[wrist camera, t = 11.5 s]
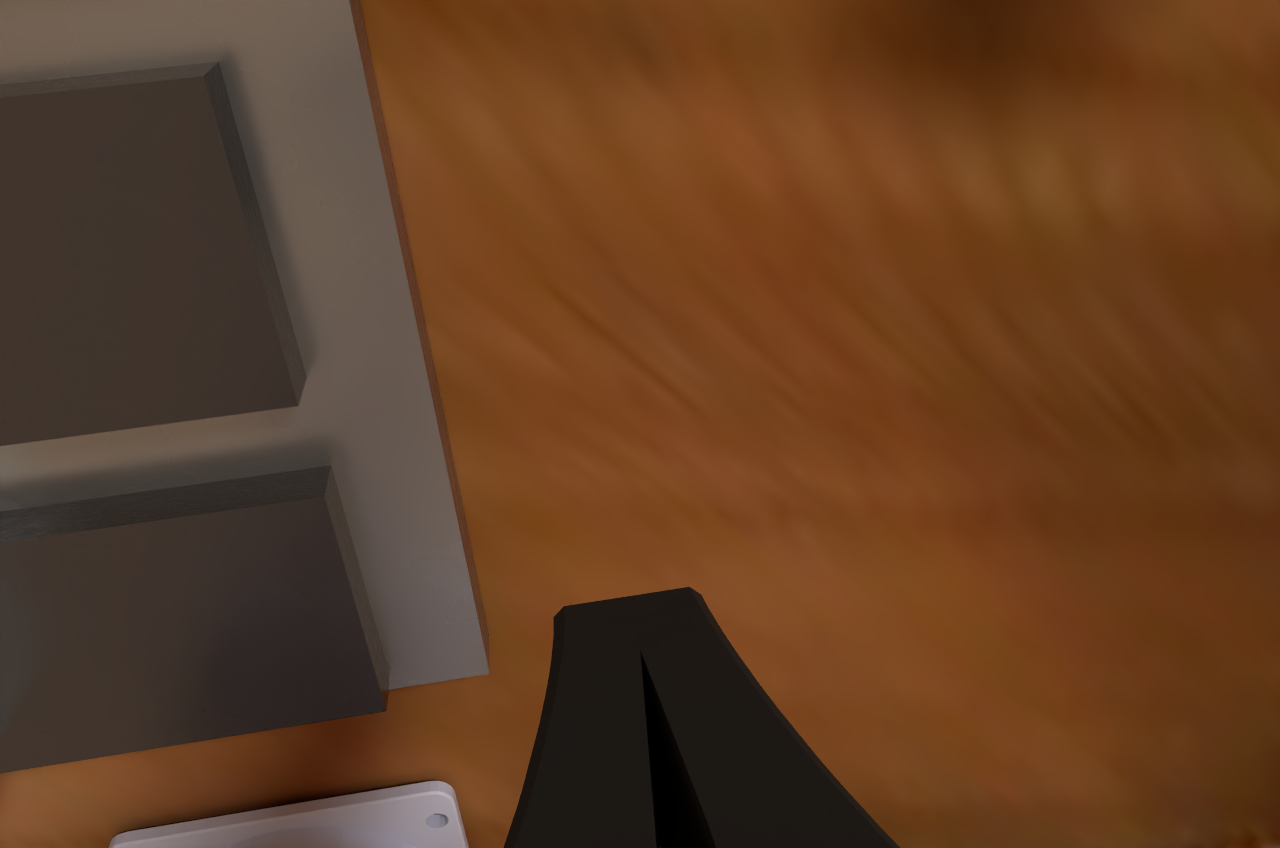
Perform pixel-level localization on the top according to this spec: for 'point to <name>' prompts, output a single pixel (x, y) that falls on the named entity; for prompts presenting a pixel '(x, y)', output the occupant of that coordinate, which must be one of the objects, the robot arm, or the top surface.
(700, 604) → the robot arm
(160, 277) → the breaker panel
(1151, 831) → the top surface
